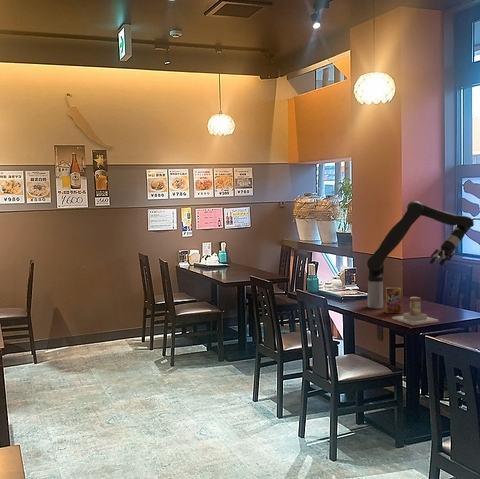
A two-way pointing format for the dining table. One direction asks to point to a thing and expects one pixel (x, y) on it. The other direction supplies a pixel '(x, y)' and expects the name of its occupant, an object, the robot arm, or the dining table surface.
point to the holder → (415, 319)
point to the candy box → (393, 300)
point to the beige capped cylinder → (415, 306)
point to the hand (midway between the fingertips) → (435, 264)
